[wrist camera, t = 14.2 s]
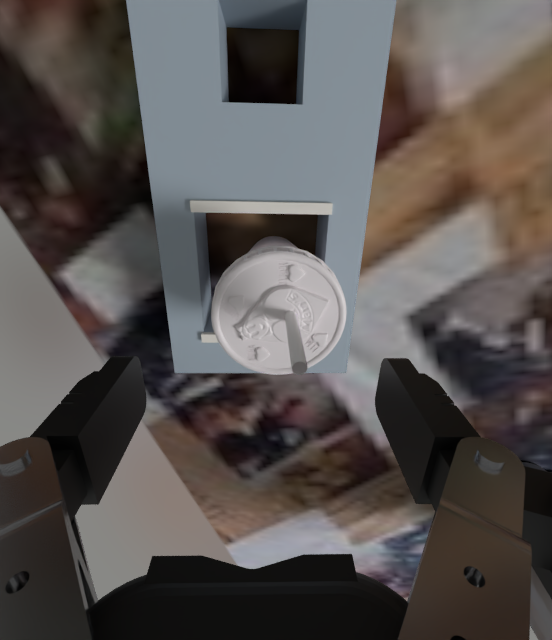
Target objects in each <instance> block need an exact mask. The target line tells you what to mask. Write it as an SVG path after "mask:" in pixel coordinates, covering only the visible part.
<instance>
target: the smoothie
mask: <svg viewBox="0 0 552 640" xmlns="http://www.w3.org/2000/svg"><path fill="white" fill-rule="evenodd" d="M346 315H347V309H346V301H345V297H344V294H343V291H342V288H341V286H340V284H339V282H338V280H337V278H336V276H335V274H334V272H333V271H332V270H331V269H330V268H329V267H328V266H327V265H326V264H325V263H324V262H323V260H321V259H319V258H318V257H316V256H314V255H313V254H311V253H309V252H308V251H305V250H301V249H298V248H297V247H296V246H295V245H293V244H292V243H291V242H290V241H289V240H287V239H285V238H283V237H279V236H269V237H265V238H263V239H261V240H259V241H258V242H257V243H256V244H255V245H254V246H253V247H252V248H251V250H250V251H249V252H248V253H247V254H245V255H243V256H242V257H240V258H238V259H236V260H235V261H234V262H233V263H232V264H231V265H230V266H229V267H228V268H227V269H226V270H225V271H224V273H223V274H222V276H221V278H220V280H219V282H218V283H217V285H216V287H215V291H214V296H213V300H212V308H211V321H212V327H213V330H214V333H215V336H216V338H217V340H218V342H219V344H220V345H221V347H222V348H223V349H224V351H225V352H226V353H227V354H228V355H229V356H230V357H231V358H232V359H233V360H235V361H236V362H237V363H239V364H241V365H242V366H244V367H246V368H248V369H251V370H253V371H257V372H260V373H265V374H274V375H281V374H290V373H294V374H297V375H302V374H304V373H305V372H306V371H307V369H308V368H309V367H311V366H313V365H315V364H317V363H318V362H320V361H321V360H322V359H324V358H325V357H326V356H327V355H328V354H329V353H330V352H331V351H332V350H333V348H334V347H335V346H336V344H337V343H338V341H339V339H340V337H341V335H342V333H343V330H344V327H345V323H346Z"/></svg>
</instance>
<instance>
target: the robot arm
mask: <svg viewBox="0 0 552 640" xmlns="http://www.w3.org/2000/svg"><path fill="white" fill-rule="evenodd" d="M375 407H376V412H377V416H378V418H379V420H380V423H381V425H382V427H383V430H384V432H385V434H386V436H387V439H388V441H389V443H390V446H391V448H392V450H393V452H394V455H395V457H396V459H397V462H398V464H399V466H400V468H401V471H402V473H403V475H404V478H405V480H406V482H407V485H408V487H409V489H410V491H411V494H412V496H413V498H414V501H415V503H416V504H432V505H433V507H434V510H435V515H434V518H433V521H432V524H431V528H430V531H429V534H428V537H427V540H426V544H425V547H424V550H423V553H422V556H421V559H420V563H419V566H418V569H417V572H416V575H415V579H414V582H413V585H412V588H411V591H410V594H409V597H408V601H406V600H405V599H404V598H402V597H401V596H400V595H399V594H397V593H396V592H395V591H393V590H392V589H390V588H389V587H388V586H386V585H384V584H382V583H381V582H379V581H377V580H375V579H373V578H371V577H368V576H366V575H364V574H360V573H357V572H356V571H355V566H354V561H353V557H352V554H321V555H301V556H297V557H294V558H291V559H288V560H284V561H281V562H278V563H274V564H271V565H268V566H264V567H261V568H258V569H247V568H243V567H240V566H236V565H233V564H229V563H226V562H222V561H218V560H215V559H212V558H208V557H204V556H152V559H151V563H150V566H149V569H148V573H147V575H144V576H141V577H139V578H136V579H134V580H132V581H129V582H127V583H125V584H123V585H122V586H120V587H118V588H116V589H114V590H113V591H111V592H110V593H109V594H107V595H105V596H104V597H102V598H101V599H100V600H98V598H97V595H96V592H95V589H94V585H93V582H92V578H91V574H90V571H89V566H88V562H87V559H86V555H85V551H84V547H83V544H82V540H81V536H80V532H79V528H78V524H77V521H76V518H75V515H76V513H77V511H78V509H79V507H80V506H81V505H82V504H84V505H85V504H99V502H100V500H101V498H102V496H103V494H104V492H105V490H106V488H107V486H108V484H109V482H110V481H111V479H112V476H113V475H114V473H115V471H116V469H117V466H118V465H119V463H120V461H121V459H122V457H123V455H124V452H125V451H126V449H127V447H128V445H129V443H130V441H131V439H132V437H133V435H134V433H135V431H136V429H137V427H138V425H139V423H140V421H141V419H142V417H143V415H144V412H145V408H146V392H145V386H144V380H143V375H142V369H141V363H140V360H139V358H138V357H136V356H112V357H111V358H110V359H109V360H108V361H107V363H106V364H105V365H104V366H103V367H102V369H101V370H100V371H99V372H98V371H94V372H93V373H91V374H90V375H88V376H86V377H85V378H83V379H82V380H80V381H79V382H78V383H77V384H76V385H75V386H74V388H73V389H72V390H71V391H70V392H69V394H68V395H66V397H65V398H64V399H63V400H62V401H61V404H59V405H58V406H57V407H56V408H55V409H54V410H53V411H52V412H51V414H50V415H49V416H48V417H47V418H46V419H45V420H44V422H43V423H42V424H41V425H40V426H39V427H38V428H37V429H36V431H35V432H34V433H33V434H32V435H31V436H30V437H28V438H22V439H18V440H15V441H12V442H9V443H7V444H5V445H3V446H1V447H0V640H529V632H530V631H529V630H530V626H531V628H532V630H533V631H534V633H535V635H536V636H537V638H538V640H552V472H547V471H546V470H544V469H543V468H541V467H540V466H538V465H535V464H532V463H527V462H521V461H520V459H519V458H518V457H517V456H516V455H515V454H514V453H513V452H511V451H510V450H509V449H507V448H506V447H504V446H503V445H501V444H499V443H497V442H494V441H492V440H489V439H486V438H481V437H480V436H479V434H478V433H477V432H476V430H475V429H474V428H473V427H472V425H471V424H470V423H469V422H468V420H467V419H466V418H465V416H464V415H463V414H462V413H461V411H460V410H459V409H458V407H457V406H454V402H453V401H452V400H451V399H450V397H449V396H447V393H446V392H445V391H444V390H443V388H442V387H441V386H440V384H439V383H438V382H436V381H435V380H433V379H432V378H430V377H429V376H427V375H426V374H419V373H418V371H417V370H416V368H415V367H414V366H413V364H412V363H411V362H410V360H409V359H407V358H385V359H383V361H382V363H381V368H380V374H379V379H378V385H377V391H376V397H375Z"/></svg>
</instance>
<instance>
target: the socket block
mask: <svg viewBox="0 0 552 640" xmlns="http://www.w3.org/2000/svg"><path fill="white" fill-rule="evenodd" d="M126 3H127V10H128V18H129V26H130V33H131V41H132V49H133V56H134V64H135V71H136V79H137V87H138V94H139V102H140V110H141V117H142V125H143V133H144V140H145V148H146V156H147V163H148V171H149V179H150V186H151V194H152V202H153V209H154V217H155V225H156V232H157V240H158V247H159V255H160V263H161V270H162V278H163V286H164V293H165V301H166V309H167V316H168V324H169V332H170V339H171V347H172V355H173V362H174V370H175V373H260V372H257V371H253V370H251V369H248V368H246V367H244V366H242V365H241V364H239V363H237V362H236V361H235V360H233V359H232V358H231V357H230V356H229V355H228V354H227V353H226V352H225V351H224V349H223V348H222V347H221V345H220V344H219V342H218V340H217V338H216V336H215V333H214V330H213V327H212V321H211V308H212V299H211V284H210V269H209V254H208V239H207V224H206V213H261V214H317V215H318V221H317V235H316V248H315V256H316V257H318V258H319V259H321V260H323V262H324V263H325V264H326V265H327V266H328V267H329V268H330V269H331V270H332V271H333V272H334V274H335V276H336V278H337V280H338V282H339V284H340V286H341V288H342V291H343V294H344V297H345V301H346V309H347V315H346V323H345V327H344V330H343V333H342V335H341V337H340V339H339V341H338V343H337V344H336V346H335V347H334V348H333V350H332V351H331V352H330V353H329V354H328V355H327V356H326V357H325V358H324V359H322V360H321V361H320V362H318V363H317V364H315V365H313V366H311V367H309V368H308V369H307V371H306V372H305V373H346V370H347V363H348V356H349V348H350V341H351V333H352V326H353V319H354V311H355V304H356V296H357V289H358V281H359V274H360V267H361V259H362V252H363V244H364V237H365V229H366V222H367V215H368V207H369V200H370V192H371V185H372V177H373V170H374V163H375V155H376V148H377V140H378V133H379V125H380V118H381V111H382V103H383V96H384V88H385V81H386V73H387V66H388V59H389V51H390V44H391V36H392V29H393V22H394V14H395V7H396V0H126ZM226 27H231V28H257V29H282V30H299V44H298V69H297V94H296V104H267V103H234V102H229V90H228V60H227V29H226Z"/></svg>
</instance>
